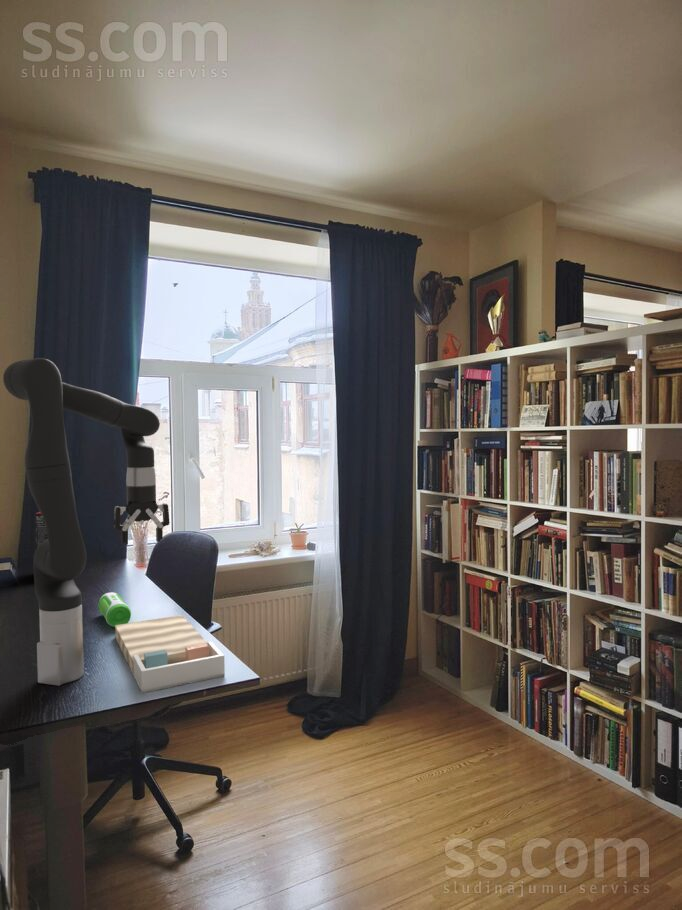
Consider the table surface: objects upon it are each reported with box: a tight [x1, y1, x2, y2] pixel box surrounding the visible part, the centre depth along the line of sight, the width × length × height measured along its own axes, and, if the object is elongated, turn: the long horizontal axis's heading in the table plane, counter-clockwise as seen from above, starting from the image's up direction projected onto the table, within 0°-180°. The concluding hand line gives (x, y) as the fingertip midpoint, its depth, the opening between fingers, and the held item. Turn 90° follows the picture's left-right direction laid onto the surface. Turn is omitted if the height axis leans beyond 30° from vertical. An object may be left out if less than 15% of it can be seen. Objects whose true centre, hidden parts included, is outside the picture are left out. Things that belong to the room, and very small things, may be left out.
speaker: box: [97, 592, 132, 628], centre depth 183 cm, size 18×7×8 cm, turn 31°
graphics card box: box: [35, 511, 48, 550], centre depth 240 cm, size 17×7×27 cm, turn 10°
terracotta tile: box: [185, 643, 209, 661], centre depth 146 cm, size 5×5×2 cm
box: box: [133, 640, 226, 694], centre depth 142 cm, size 11×19×5 cm, turn 119°
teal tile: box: [144, 650, 168, 669], centre depth 142 cm, size 5×5×2 cm
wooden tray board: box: [114, 614, 208, 676], centre depth 160 cm, size 30×19×4 cm, turn 29°
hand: (142, 542), depth 162 cm, fingers open, 8 cm apart
